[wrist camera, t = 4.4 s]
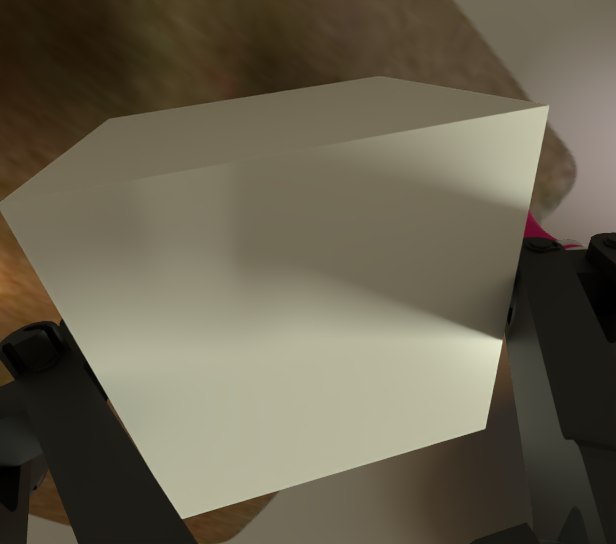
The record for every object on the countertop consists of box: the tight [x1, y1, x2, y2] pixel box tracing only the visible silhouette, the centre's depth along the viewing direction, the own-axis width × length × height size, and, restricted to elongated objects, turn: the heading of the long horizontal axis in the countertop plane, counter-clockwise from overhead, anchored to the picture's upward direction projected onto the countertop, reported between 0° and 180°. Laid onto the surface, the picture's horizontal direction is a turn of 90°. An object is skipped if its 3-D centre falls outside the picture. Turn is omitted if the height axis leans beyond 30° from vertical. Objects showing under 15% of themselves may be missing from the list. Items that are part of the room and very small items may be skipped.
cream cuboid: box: [0, 76, 549, 519], centre depth 13 cm, size 10×10×9 cm
